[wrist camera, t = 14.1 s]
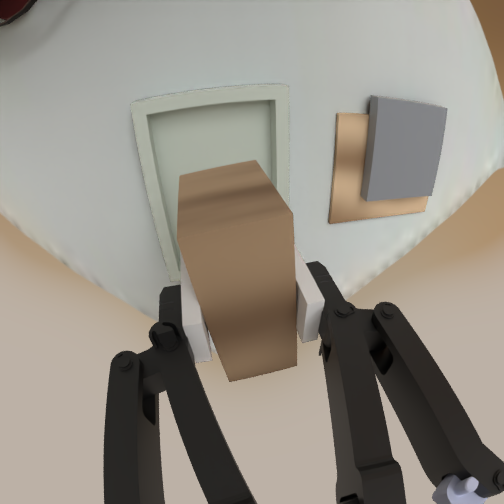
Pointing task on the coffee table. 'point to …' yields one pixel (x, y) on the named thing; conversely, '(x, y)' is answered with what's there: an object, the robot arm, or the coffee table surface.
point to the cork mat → (359, 176)
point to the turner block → (241, 265)
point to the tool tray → (207, 145)
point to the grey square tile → (402, 148)
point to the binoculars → (14, 9)
